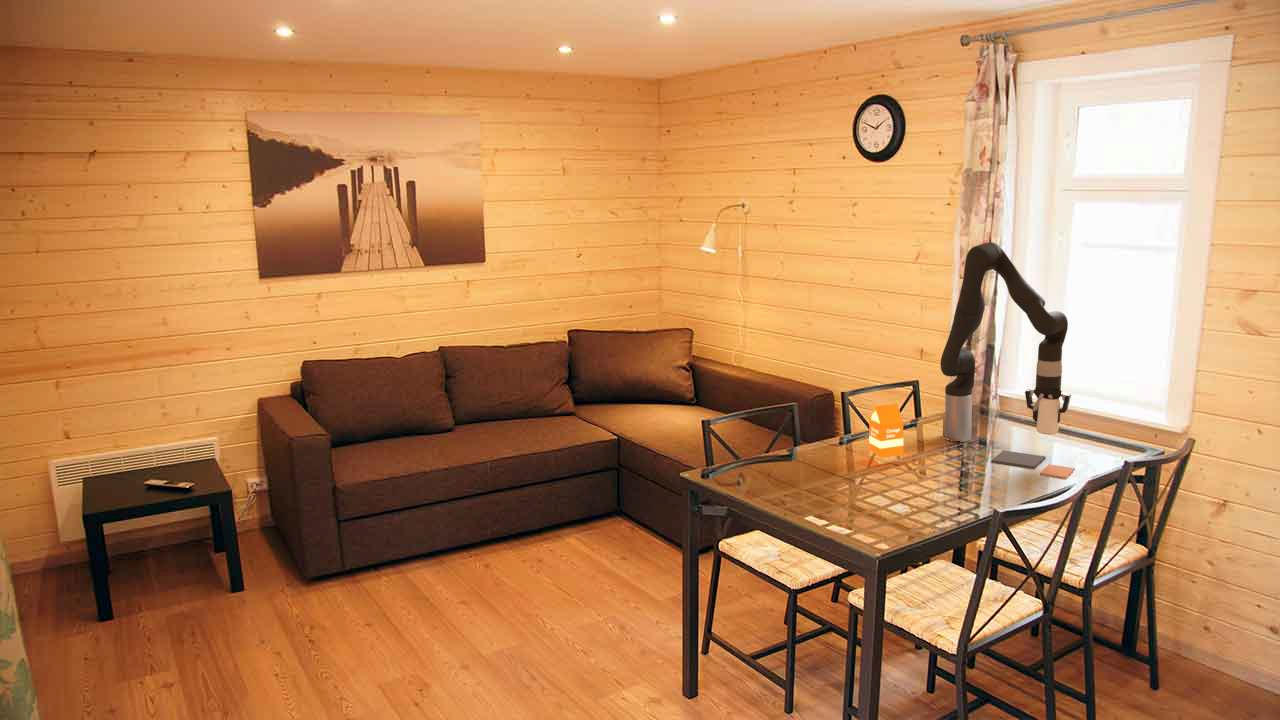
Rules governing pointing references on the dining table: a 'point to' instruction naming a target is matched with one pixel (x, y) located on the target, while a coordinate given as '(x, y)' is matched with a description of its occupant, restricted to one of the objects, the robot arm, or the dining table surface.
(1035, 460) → the mat
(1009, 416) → the dining table surface
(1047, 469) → the tile
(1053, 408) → the can
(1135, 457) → the dining table surface
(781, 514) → the dining table surface
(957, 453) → the dining table surface
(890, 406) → the orange juice
